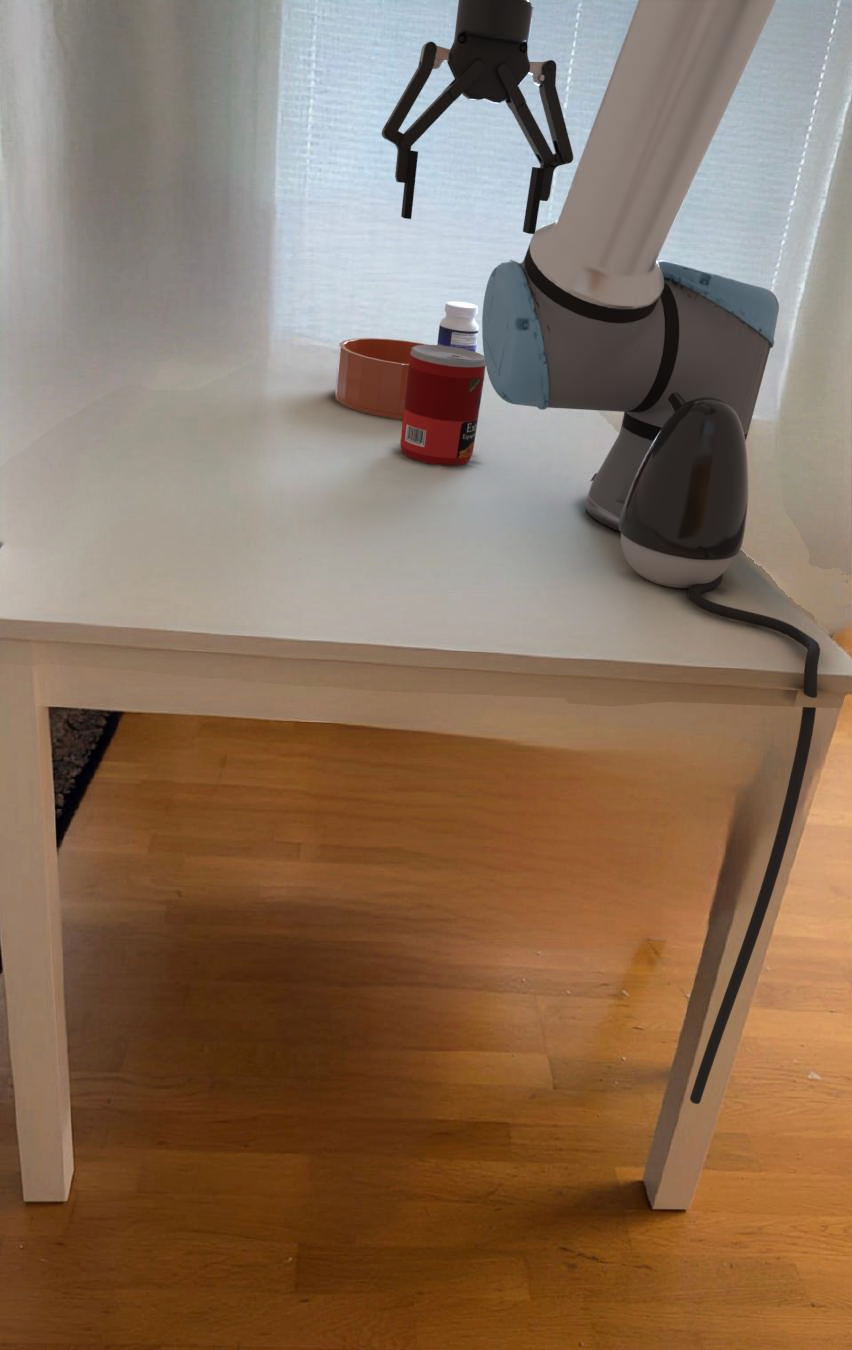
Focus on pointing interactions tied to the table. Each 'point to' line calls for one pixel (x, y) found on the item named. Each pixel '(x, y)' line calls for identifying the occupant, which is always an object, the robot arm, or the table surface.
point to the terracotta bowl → (373, 375)
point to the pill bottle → (459, 326)
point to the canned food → (442, 404)
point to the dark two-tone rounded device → (688, 496)
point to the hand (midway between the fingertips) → (467, 226)
